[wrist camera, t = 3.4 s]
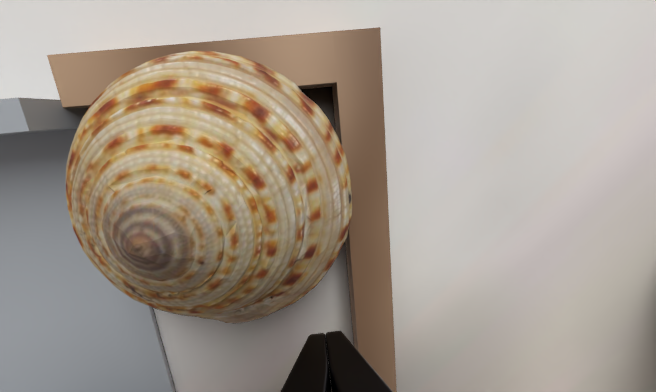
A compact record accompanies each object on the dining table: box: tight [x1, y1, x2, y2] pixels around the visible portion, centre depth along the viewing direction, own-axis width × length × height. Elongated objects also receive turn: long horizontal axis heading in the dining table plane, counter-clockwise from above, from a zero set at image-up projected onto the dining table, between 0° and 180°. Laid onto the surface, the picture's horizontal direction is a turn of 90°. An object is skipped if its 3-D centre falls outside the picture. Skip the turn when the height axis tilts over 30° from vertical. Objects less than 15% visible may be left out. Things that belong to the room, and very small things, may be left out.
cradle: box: [47, 28, 396, 392], centre depth 12 cm, size 9×16×2 cm, turn 5°
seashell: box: [65, 51, 352, 323], centre depth 10 cm, size 8×6×8 cm
